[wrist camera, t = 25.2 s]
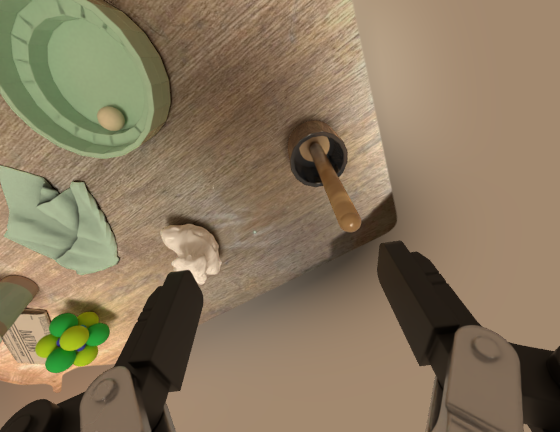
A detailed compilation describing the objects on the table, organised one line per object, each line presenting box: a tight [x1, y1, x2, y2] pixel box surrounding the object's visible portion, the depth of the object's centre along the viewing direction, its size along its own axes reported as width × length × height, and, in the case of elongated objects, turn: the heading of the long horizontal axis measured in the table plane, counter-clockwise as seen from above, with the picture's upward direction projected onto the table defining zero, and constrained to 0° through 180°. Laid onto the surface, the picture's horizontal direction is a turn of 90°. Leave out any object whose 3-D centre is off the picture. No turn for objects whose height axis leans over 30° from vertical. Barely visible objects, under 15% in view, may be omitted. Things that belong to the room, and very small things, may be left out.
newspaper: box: [2, 309, 51, 364], centre depth 57 cm, size 23×12×2 cm, turn 163°
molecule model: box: [35, 312, 110, 373], centre depth 49 cm, size 9×9×9 cm
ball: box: [97, 106, 125, 131], centre depth 29 cm, size 3×3×3 cm
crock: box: [287, 120, 348, 187], centre depth 32 cm, size 7×7×6 cm
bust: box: [160, 224, 222, 284], centre depth 39 cm, size 12×8×11 cm
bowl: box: [0, 0, 171, 159], centre depth 26 cm, size 15×15×6 cm
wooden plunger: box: [299, 136, 361, 232], centre depth 25 cm, size 4×4×20 cm
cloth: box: [0, 165, 120, 275], centre depth 39 cm, size 20×22×2 cm
